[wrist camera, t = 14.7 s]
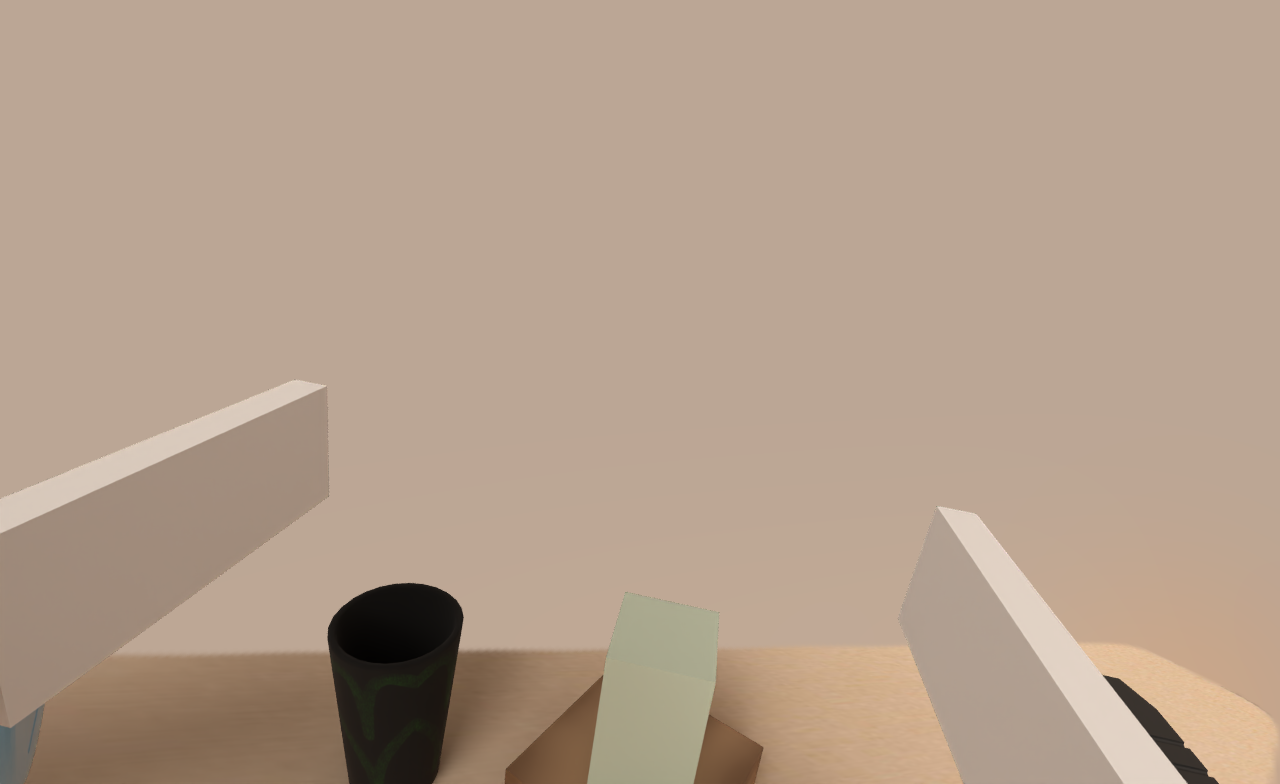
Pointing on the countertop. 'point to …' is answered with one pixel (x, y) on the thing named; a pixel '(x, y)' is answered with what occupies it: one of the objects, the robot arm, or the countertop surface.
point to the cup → (394, 680)
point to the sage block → (655, 693)
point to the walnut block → (560, 757)
